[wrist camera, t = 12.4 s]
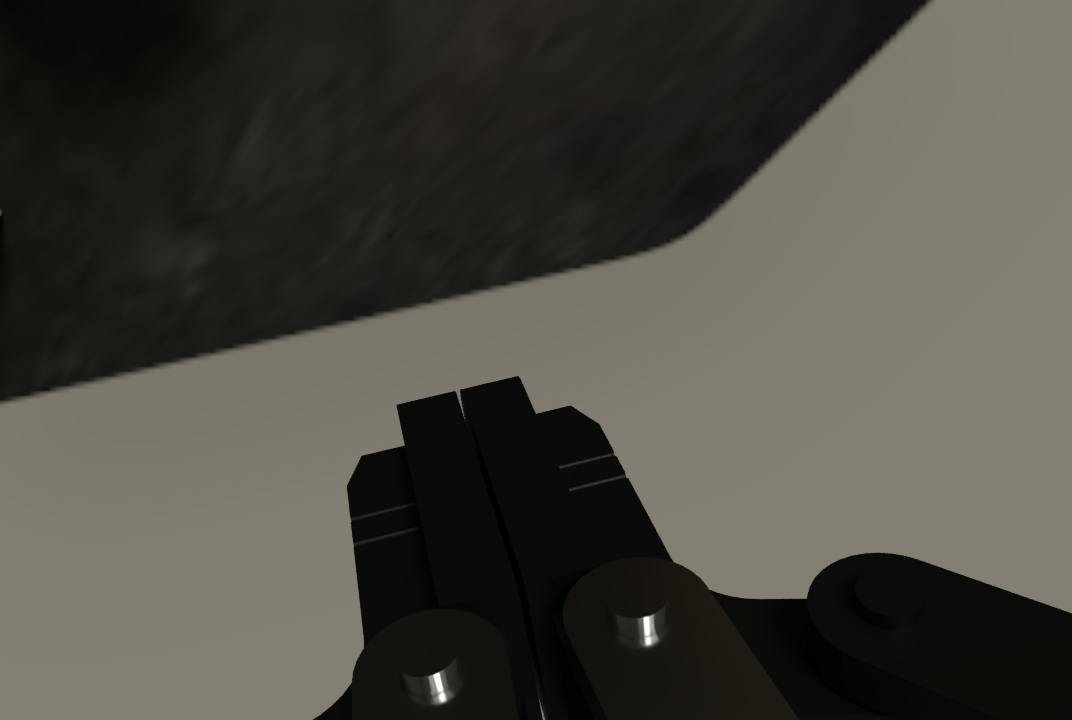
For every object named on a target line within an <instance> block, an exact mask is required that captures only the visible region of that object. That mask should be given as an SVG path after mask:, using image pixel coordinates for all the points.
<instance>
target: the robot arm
mask: <svg viewBox="0 0 1072 720" xmlns="http://www.w3.org/2000/svg"><path fill="white" fill-rule="evenodd" d="M460 395H461V401H462V407H463V412H464V416H463V413H462V410H461V406H460V403H459V400H458V397H457V394H456V392H455V391H454V392H449V393H445V394H441V395H436V396H432V397H428V398H424V399H419V400H415V401H411V402H406V403H402V404H398V405H397V410H398V415H399V419H400V424H401V429H402V434H403V439H404V443H405V446H401V447H397V448H393V449H388V450H384V451H381V452H376V453H372V454H368V455H364V456H361V458H360V460H359V463H358V465H357V467H356V469H355V471H354V473H353V475H352V477H351V479H350V481H349V483H348V485H347V492H348V501H349V510H350V517H351V528H352V537H353V543H354V555H355V564H356V572H357V582H358V590H359V599H360V608H361V617H362V625H363V635H364V649H363V650H362V652H361V654H360V656H359V658H358V659H357V662H356V665H355V668H354V671H353V678H352V683H351V685H350V686H349V687H348V689H347V690H346V691H345V693H344V694H343V695H342V696H341V697H340V698H339V699H338V700H337V701H336V702H335V703H334V704H333V705H332V706H331V707H330V708H328V709H327V710H326V711H325V712H323V713H322V714H321V715H319V716H318V717H316V718H315V719H313V720H543V719H542V713H541V708H540V703H541V707H542V710H543V713H544V717H545V720H1072V613H1069V612H1066V611H1063V610H1061V609H1058V608H1055V607H1052V606H1049V605H1046V604H1043V603H1041V602H1038V601H1035V600H1032V599H1029V598H1026V597H1023V596H1020V595H1018V594H1015V593H1012V592H1009V591H1006V590H1003V589H1000V588H998V587H995V586H992V585H989V584H986V583H983V582H981V581H978V580H975V579H972V578H969V577H966V576H963V575H961V574H958V573H955V572H952V571H949V570H946V569H943V568H941V567H937V566H935V565H932V564H929V563H926V562H923V561H920V560H918V559H914V558H911V557H907V556H902V555H897V554H890V553H889V554H888V553H865V554H859V555H853V556H850V557H846V558H843V559H840V560H838V561H836V562H834V563H832V564H830V565H829V566H827V567H826V568H825V569H823V570H822V571H821V572H820V573H819V574H818V575H817V576H816V577H815V579H814V580H813V582H812V584H811V586H810V588H809V592H808V595H807V599H744V598H738V597H732V596H728V595H724V594H720V593H717V592H714V591H712V590H709V589H708V587H707V585H706V584H705V583H704V582H703V581H702V580H701V578H700V577H698V576H697V575H696V574H694V573H693V572H692V571H691V570H689V569H687V568H685V567H684V566H682V565H679V564H677V563H674V562H673V560H672V559H671V557H670V555H669V553H668V552H667V550H666V548H665V546H664V544H663V542H662V540H661V539H660V537H659V535H658V533H657V531H656V529H655V527H654V526H653V524H652V522H651V520H650V518H649V516H648V514H647V512H646V510H645V509H644V507H643V505H642V503H641V501H640V499H639V497H638V495H637V494H636V492H635V490H634V488H633V486H632V484H631V482H630V481H629V479H628V478H626V475H625V471H624V469H623V468H622V466H621V464H620V462H619V460H618V458H617V456H615V455H614V451H613V449H612V447H611V445H610V443H609V441H608V439H607V438H606V436H605V434H604V432H603V430H602V429H601V426H600V425H599V424H598V423H597V422H595V421H594V420H592V419H590V418H589V417H587V416H586V415H584V414H583V413H581V412H580V411H578V410H577V409H575V408H574V407H572V406H567V407H562V408H559V409H554V410H550V411H546V412H542V413H538V414H536V413H535V411H534V409H533V407H532V404H531V402H530V400H529V397H528V395H527V393H526V390H525V388H524V386H523V384H522V382H521V379H520V378H519V377H518V376H517V377H512V378H508V379H504V380H499V381H495V382H491V383H486V384H482V385H478V386H474V387H469V388H465V389H461V390H460ZM464 417H465V419H464ZM539 700H540V703H539Z"/></svg>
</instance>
